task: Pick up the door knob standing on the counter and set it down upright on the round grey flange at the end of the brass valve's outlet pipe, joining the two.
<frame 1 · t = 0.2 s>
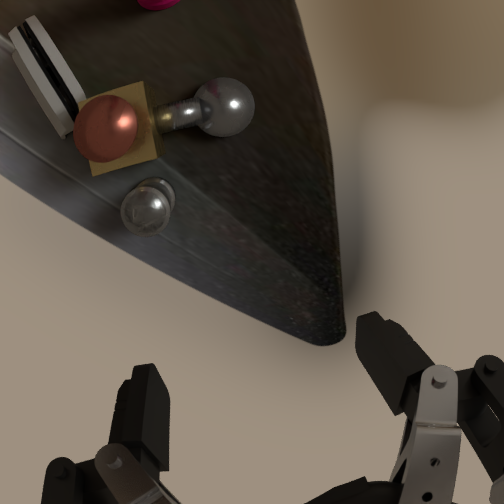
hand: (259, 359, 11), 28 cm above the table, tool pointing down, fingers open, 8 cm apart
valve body: (131, 129, 31), on the table
door knob: (154, 197, 35), on the table
hinge: (57, 76, 27), on the table
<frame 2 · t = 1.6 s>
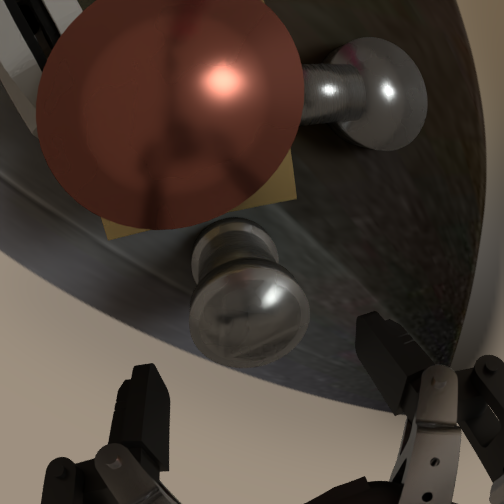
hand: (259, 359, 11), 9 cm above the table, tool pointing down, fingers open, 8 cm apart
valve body: (186, 115, 15), on the table
door knob: (233, 257, 19), on the table
hinge: (35, 20, 10), on the table
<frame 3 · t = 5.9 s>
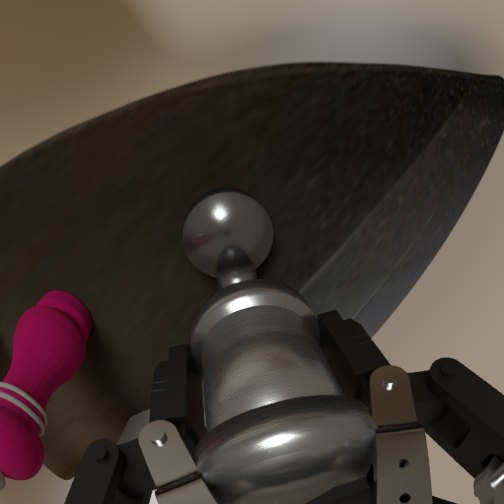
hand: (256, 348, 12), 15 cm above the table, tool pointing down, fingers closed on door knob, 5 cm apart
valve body: (248, 333, 29), on the table
door knob: (253, 333, 12), point 14 cm above the table, touching gripper
hinge: (181, 399, 32), on the table
pepper mill: (65, 315, 26), on the table
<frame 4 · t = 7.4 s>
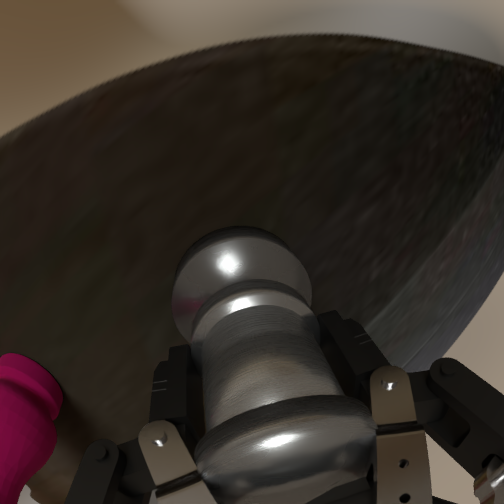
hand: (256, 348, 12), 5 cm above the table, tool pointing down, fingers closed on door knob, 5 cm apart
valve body: (265, 406, 21), on the table
door knob: (253, 333, 12), point 4 cm above the table, touching gripper
pepper mill: (30, 380, 17), on the table
when the fingers open (4 cm above the table, at t = 8.6 s): door knob drops 1 cm, resting on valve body.
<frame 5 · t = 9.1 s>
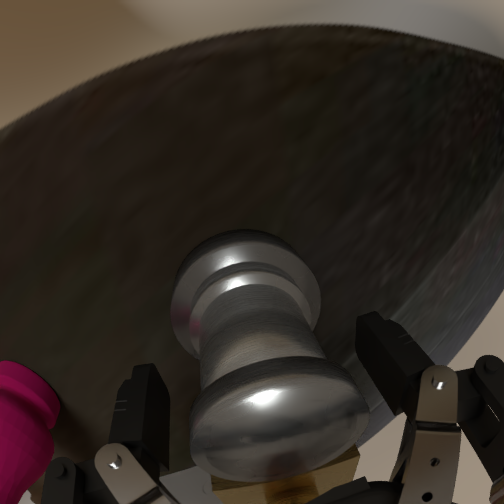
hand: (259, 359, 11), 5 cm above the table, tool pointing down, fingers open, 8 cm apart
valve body: (269, 415, 20), on the table
door knob: (247, 313, 13), point 2 cm above the table, touching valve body
hinge: (184, 473, 23), on the table
pepper mill: (27, 387, 16), on the table
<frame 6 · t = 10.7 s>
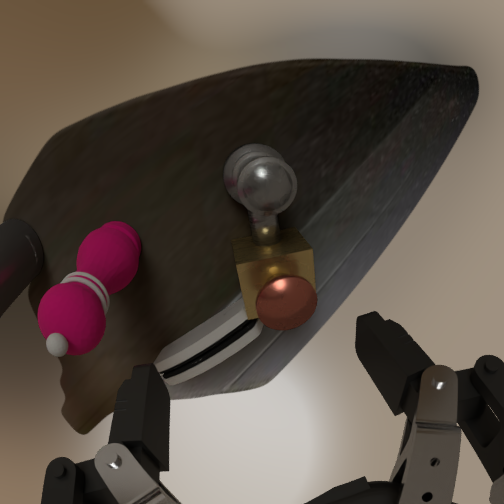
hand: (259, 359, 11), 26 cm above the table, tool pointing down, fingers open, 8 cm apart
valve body: (267, 258, 38), on the table
door knob: (256, 174, 32), point 2 cm above the table, touching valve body
hinge: (209, 325, 42), on the table
pepper mill: (118, 244, 35), on the table
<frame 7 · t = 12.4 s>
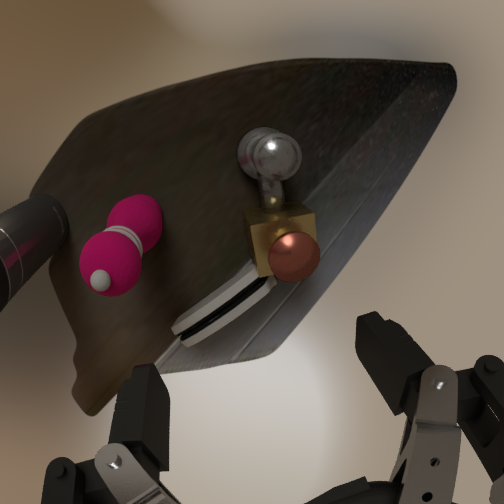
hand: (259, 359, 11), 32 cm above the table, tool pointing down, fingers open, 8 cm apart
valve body: (273, 228, 44), on the table
door knob: (264, 152, 37), point 2 cm above the table, touching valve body
hinge: (221, 292, 47), on the table
pepper mill: (141, 215, 40), on the table
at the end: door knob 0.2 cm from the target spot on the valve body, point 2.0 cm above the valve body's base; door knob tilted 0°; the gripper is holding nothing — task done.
